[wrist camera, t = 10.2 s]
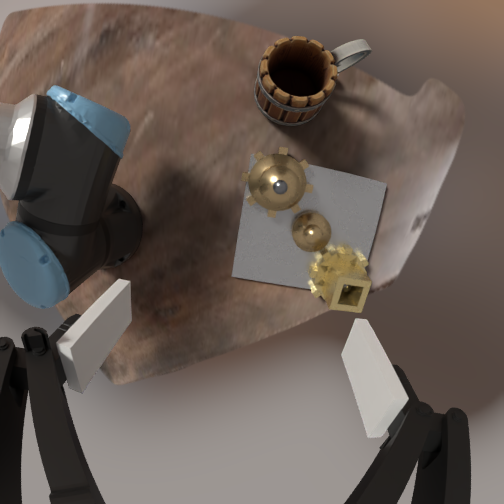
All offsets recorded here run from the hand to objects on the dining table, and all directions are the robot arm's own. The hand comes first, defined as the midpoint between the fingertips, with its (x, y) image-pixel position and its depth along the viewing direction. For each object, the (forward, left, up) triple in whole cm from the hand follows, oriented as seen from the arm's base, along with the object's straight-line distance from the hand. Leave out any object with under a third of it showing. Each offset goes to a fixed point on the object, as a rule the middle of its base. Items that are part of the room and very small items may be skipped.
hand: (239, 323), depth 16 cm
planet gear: (+15, -8, -30) cm, 35 cm away
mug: (+4, +21, -32) cm, 38 cm away
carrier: (+9, -1, -32) cm, 33 cm away
